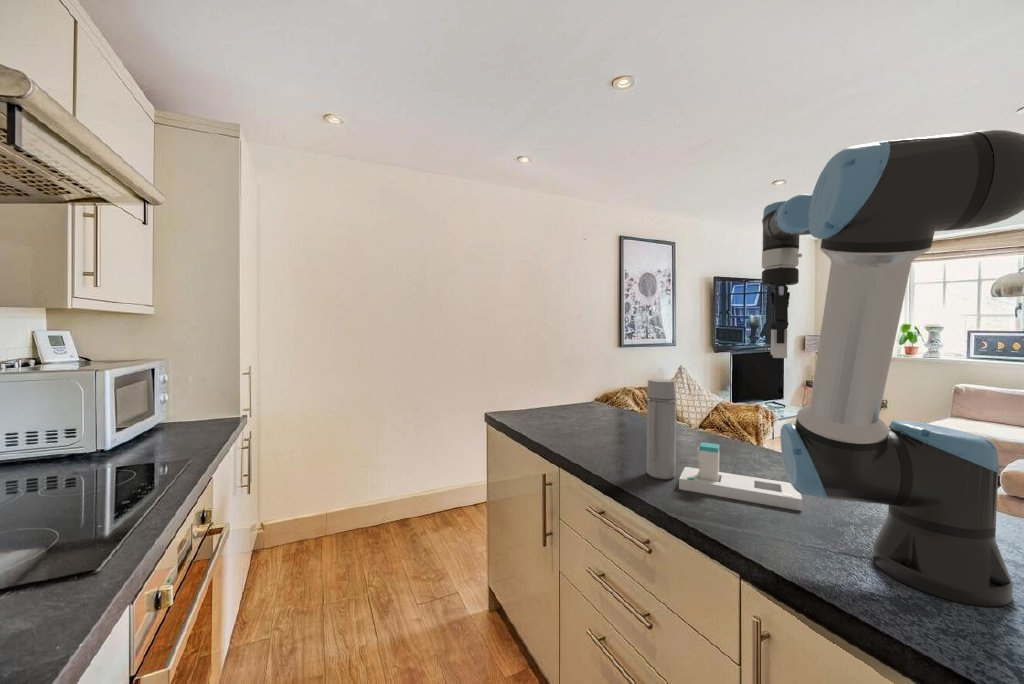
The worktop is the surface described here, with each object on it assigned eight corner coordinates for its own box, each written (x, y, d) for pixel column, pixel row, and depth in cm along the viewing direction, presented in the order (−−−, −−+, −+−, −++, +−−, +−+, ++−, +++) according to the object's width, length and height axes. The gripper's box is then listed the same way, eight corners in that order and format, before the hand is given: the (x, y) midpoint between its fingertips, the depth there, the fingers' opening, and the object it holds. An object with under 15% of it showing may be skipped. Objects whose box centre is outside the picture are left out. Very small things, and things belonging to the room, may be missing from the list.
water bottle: (653, 468, 115) (654, 378, 114) (681, 475, 109) (682, 380, 109) (636, 477, 108) (637, 380, 108) (665, 485, 103) (666, 383, 102)
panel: (801, 513, 87) (802, 498, 87) (678, 491, 99) (679, 478, 99) (797, 497, 96) (797, 483, 96) (684, 478, 108) (685, 466, 108)
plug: (717, 491, 98) (718, 448, 97) (696, 487, 100) (696, 445, 100) (718, 485, 101) (719, 444, 101) (698, 482, 103) (698, 441, 103)
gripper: (804, 260, 89) (802, 360, 89) (794, 273, 110) (792, 354, 111) (762, 262, 92) (761, 358, 93) (761, 275, 114) (759, 353, 115)
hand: (778, 356), depth 102 cm, fingers open, 13 cm apart
